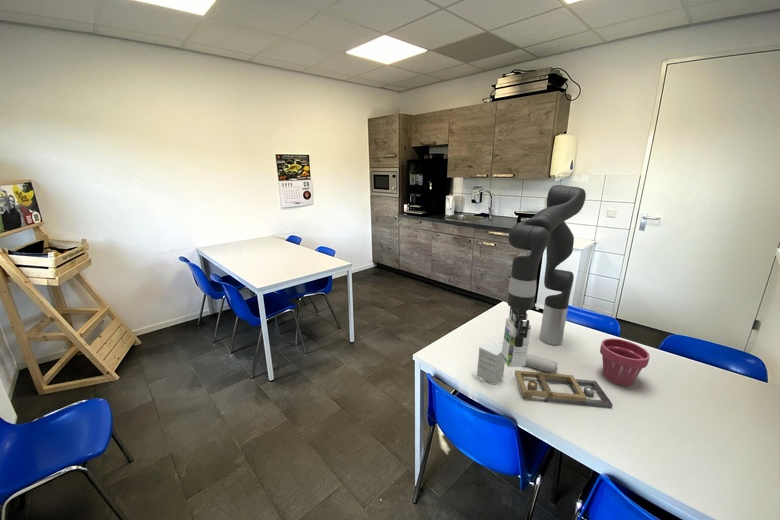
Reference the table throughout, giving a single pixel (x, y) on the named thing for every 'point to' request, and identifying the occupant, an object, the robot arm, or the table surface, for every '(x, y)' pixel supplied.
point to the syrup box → (509, 351)
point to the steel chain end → (588, 391)
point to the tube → (541, 363)
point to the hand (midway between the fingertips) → (515, 340)
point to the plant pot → (622, 361)
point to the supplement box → (490, 362)
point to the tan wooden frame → (547, 392)
